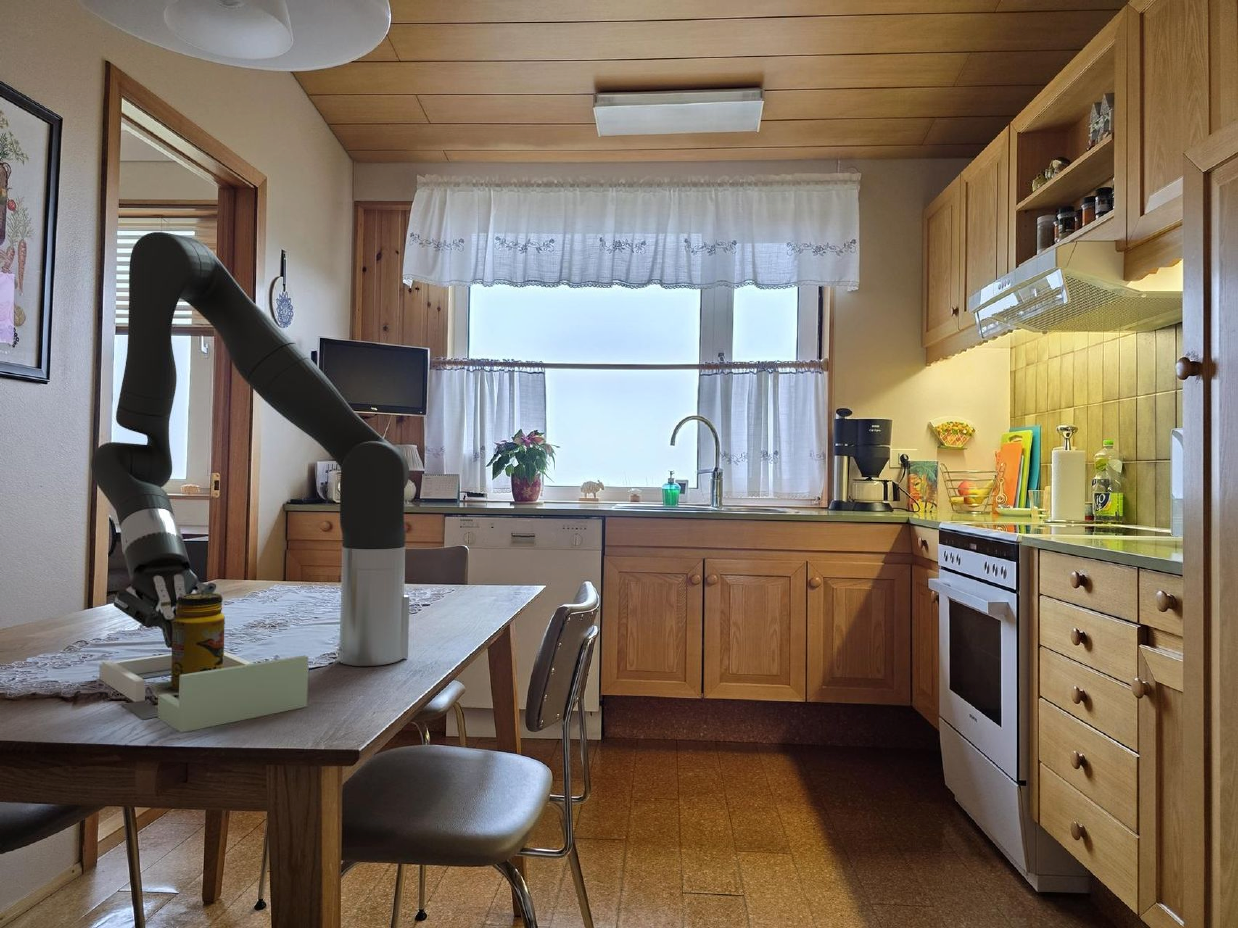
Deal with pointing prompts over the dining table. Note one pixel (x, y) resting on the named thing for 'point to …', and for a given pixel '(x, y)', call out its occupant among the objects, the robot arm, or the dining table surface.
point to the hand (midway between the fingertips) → (180, 646)
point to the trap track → (212, 689)
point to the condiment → (194, 639)
